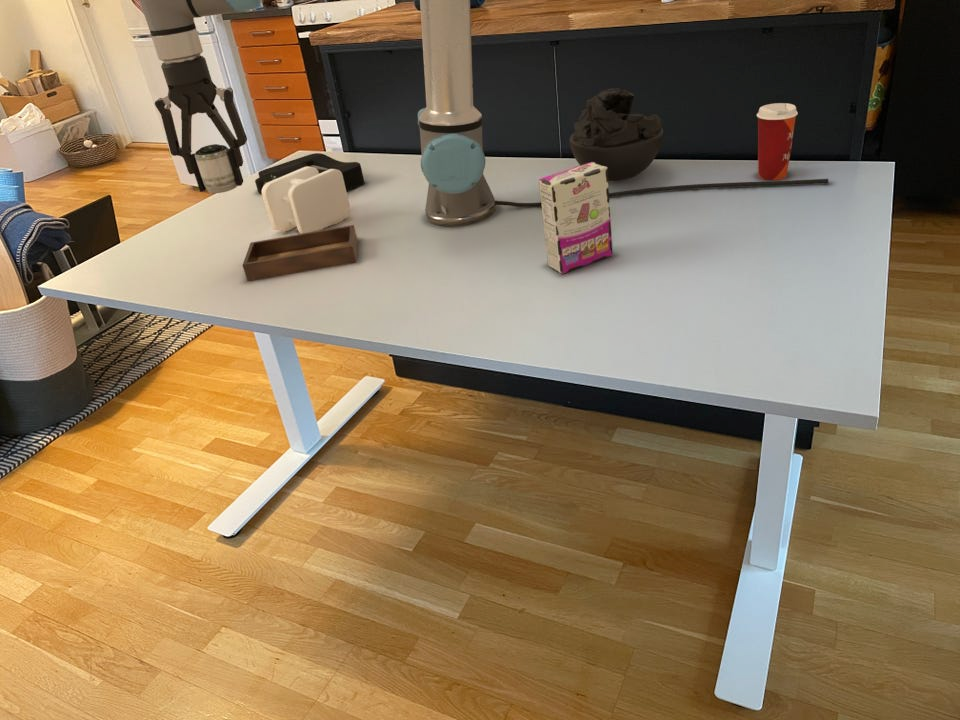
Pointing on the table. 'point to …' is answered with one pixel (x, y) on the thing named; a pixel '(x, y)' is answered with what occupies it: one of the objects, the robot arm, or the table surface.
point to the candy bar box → (576, 217)
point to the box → (301, 253)
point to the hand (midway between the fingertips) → (222, 186)
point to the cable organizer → (306, 200)
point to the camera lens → (215, 168)
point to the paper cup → (775, 139)
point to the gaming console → (318, 161)
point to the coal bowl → (616, 135)
